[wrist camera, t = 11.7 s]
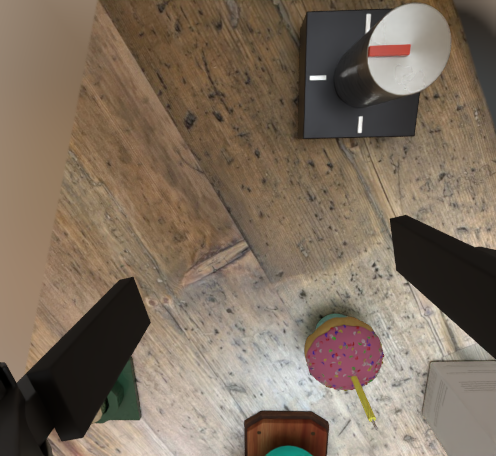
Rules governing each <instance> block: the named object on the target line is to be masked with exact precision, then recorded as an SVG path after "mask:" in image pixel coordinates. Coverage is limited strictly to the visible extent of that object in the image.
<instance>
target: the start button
mask: <svg viewBox="0 0 496 456" xmlns="http://www.w3.org/2000/svg"><path fill="white" fill-rule="evenodd" d="M107 405H108V400H107V398H106V399H105V401H104V403H103V405H102V406H101V408H100V410H99V411H98V413H97V415H96V417H95V418H94V420H93V422H92V423H91V424H93V423H95V422H97V421H99V420H100V418H101V417H102V415H103V413H104V411H105V409H106V408H107Z"/></svg>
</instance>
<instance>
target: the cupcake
mask: <svg viewBox="0 0 496 456" xmlns="http://www.w3.org/2000/svg"><path fill="white" fill-rule="evenodd" d="M304 352H305V358H306V362H307V366H308V368H309V372H310V375H312V376H313V377H314V378H315V379H316V380H318V381H319V382H320V383H322V384H323V385H326V387H328V388H334V389H335V388H336V389H337V390H338V391H339V390H340V389H341V390H344V391H347V390H353V389H356V392H357V394H358V396H359V399H360V401H361V403H362V406H363V408H364V410H365V413H366V415H367V417H368V420H369V421H370V422H372V423H373V425H374V427H375V429H376V430H378V428H377V426H376V424H375V420H376V418H375V416H374V413H373V411H372V409H371V407H370V404H369V402H368V400H367V398H366V396H365V393H364V391H363V389H362V387H363V385H364V386H365V385H367V383H370V382H371V381H372V380H374V378H376V376H377V374H378V373H379V372H378V371H380V370H379V369H380V368H381V364H383V361H382V360H383V357H384V354H383V350H382V344H381V342H380V340H379V338H378V336H377V335H376V334H375V332H374V331H373V329H372V327H371V326H369V325H368V324H366V323H364V322H362V321H360V320H358V319H356V318H354V317H347V316H345V315H342V314H330V315H327V316H325V317H323V318H322V319H321V320H320V321H319V322H318V324H317V326H316V329H315V331H314V333H312V334H311V335H309V336H308V338H307V340H306V343H305V349H304Z"/></svg>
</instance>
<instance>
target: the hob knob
mask: <svg viewBox="0 0 496 456" xmlns="http://www.w3.org/2000/svg"><path fill="white" fill-rule="evenodd" d="M450 51H451V33H450V29H449V26H448V24H447V21H446V20H445V18H444V17H443V15H442V14H441V13H440V12H439V11H438V10H436V9H435V8H433V7H432V6H430V5H427V4H423V3H407V4H403V5H401V6H398V7H396V8H394V9H393V10H391V11H390V12H388V13H387V14H386V15H385V16H384V17H383V18H382V19H381V20H379V21H378V22H377V23H376V24H375V25H374V26H373V27H372V28H371V29H370V30H369V31H368V32H367V33H366V34H365V35H364V36H363V37H362V38H361V39H360V40H359V41H357V42H356V43H355V44H354V45H353V46H352V47H351V48H350V49H349V50H348V51H347V52H346V53H345V54H344V55H343V56H342V58H341V59H340V61H339V63H338V65H337V67H336V71H335V77H334V82H335V88H336V91H337V93H338V95H339V97H340V98H341V99H342V100H343V101H344V102H345V103H346V104H348V105H350V106H352V107H356V108H365V107H370V106H373V105H377V104H380V103H384V102H387V101H391V100H395V99H398V98H402V97H405V96H409V95H412V94H415V93H418V92H420V91H422V90H424V89H426V88H427V87H429V86H430V85H431V84H432V83H433V82H434V81H435V80H436V79H437V78H438V77H439V76H440V74H441V73H442V71H443V70H444V68H445V66H446V64H447V61H448V59H449V55H450Z"/></svg>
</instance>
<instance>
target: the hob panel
mask: <svg viewBox="0 0 496 456" xmlns="http://www.w3.org/2000/svg"><path fill="white" fill-rule="evenodd" d="M393 9H394V8H393ZM393 9H366V10H339V11H312V12H307V13H306V15H305V18H304V20H303V23H302V25H301V28H300V51H299V95H298V139H323V138H365V137H407V136H414V135H415V127H416V119H417V112H418V104H419V96H420V92H418V93H415V94H412V95H409V96H405V97H402V98H398V99H395V100H391V101H387V102H384V103H380V104H377V105H373V106H370V107H365V108H356V107H352V106H350V105H348V104H346V103H345V102H344V101H343V100H342V99H341V98H340V97H339V95H338V93H337V91H336V88H335V82H334V77H335V71H336V67H337V65H338V63H339V61H340V59H341V58H342V56H343V55H344V54H345V53H346V52H347V51H348V50H349V49H350V48H351V47H352V46H353V45H354V44H355V43H356V42H357V41H359V40H360V39H361V38H362V37H363V36H364V35H365V34H366V33H367V32H368V31H369V30H370V29H371V28H372V27H373V26H374V25H375V24H376V23H377V22H378V21H379V20H381V19H382V18H383V17H384V16H385V15H386V14H387V13H388V12H390V11H391V10H393Z"/></svg>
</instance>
